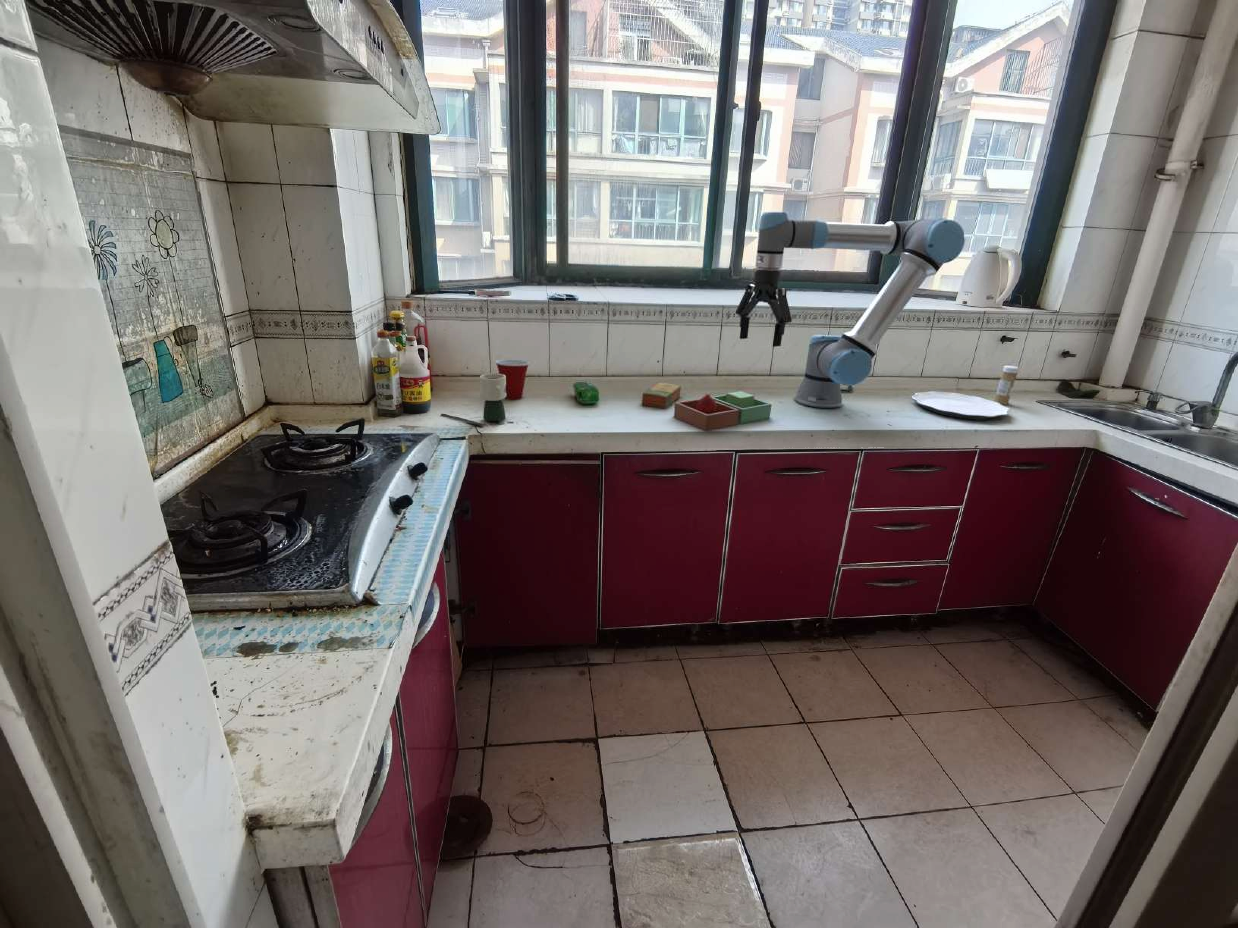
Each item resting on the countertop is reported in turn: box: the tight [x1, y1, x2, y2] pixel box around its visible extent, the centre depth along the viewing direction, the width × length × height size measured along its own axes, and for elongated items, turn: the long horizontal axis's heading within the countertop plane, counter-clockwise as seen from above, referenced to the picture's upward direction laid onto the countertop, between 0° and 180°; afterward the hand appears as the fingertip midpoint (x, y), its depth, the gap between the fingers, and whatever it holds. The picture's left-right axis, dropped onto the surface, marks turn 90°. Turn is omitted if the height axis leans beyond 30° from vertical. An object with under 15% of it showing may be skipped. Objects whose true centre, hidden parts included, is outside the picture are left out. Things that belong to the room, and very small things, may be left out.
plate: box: [911, 390, 1011, 421], centre depth 203 cm, size 29×29×2 cm
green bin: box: [711, 394, 772, 425], centre depth 186 cm, size 13×15×5 cm
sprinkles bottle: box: [993, 365, 1020, 406], centre depth 211 cm, size 5×5×14 cm
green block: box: [726, 390, 755, 408], centre depth 185 cm, size 6×6×6 cm
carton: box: [641, 382, 682, 409], centre depth 196 cm, size 8×16×4 cm, turn 158°
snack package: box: [572, 381, 600, 405], centre depth 193 cm, size 7×16×5 cm, turn 12°
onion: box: [697, 392, 716, 415], centre depth 177 cm, size 6×6×8 cm
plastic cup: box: [494, 359, 530, 400], centre depth 191 cm, size 11×11×12 cm
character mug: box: [479, 373, 507, 423], centre depth 168 cm, size 11×7×13 cm, turn 31°
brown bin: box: [673, 398, 739, 431], centre depth 178 cm, size 13×15×5 cm
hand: (759, 342), depth 180 cm, fingers open, 13 cm apart
